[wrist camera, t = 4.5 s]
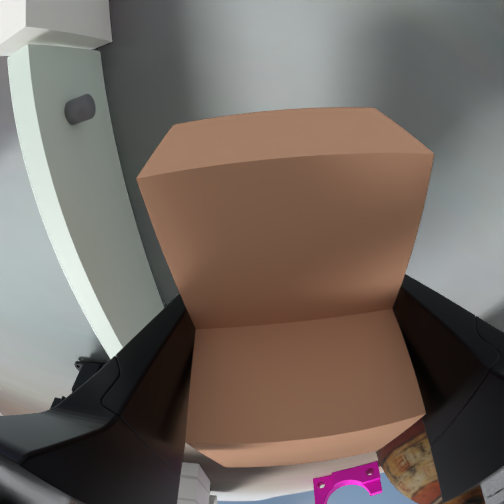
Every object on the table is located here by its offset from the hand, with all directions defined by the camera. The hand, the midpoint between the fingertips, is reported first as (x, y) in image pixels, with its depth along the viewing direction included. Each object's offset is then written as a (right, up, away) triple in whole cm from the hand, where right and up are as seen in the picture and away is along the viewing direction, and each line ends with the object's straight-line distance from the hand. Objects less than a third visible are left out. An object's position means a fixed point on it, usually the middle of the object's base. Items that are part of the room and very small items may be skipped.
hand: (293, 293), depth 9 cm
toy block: (+20, -49, +43) cm, 68 cm away
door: (-10, +4, +11) cm, 15 cm away
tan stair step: (0, +2, +2) cm, 2 cm away
